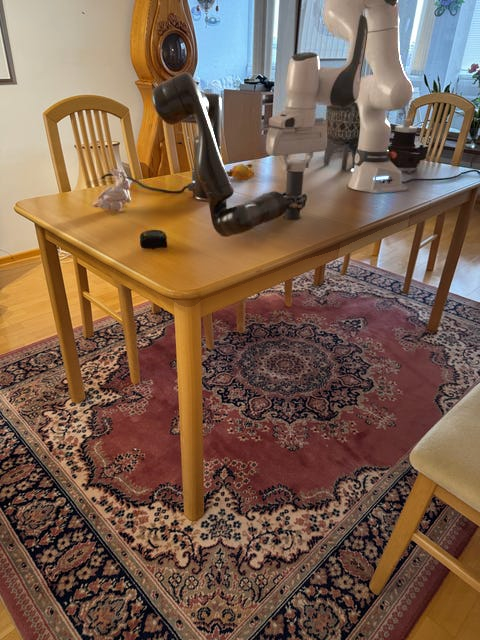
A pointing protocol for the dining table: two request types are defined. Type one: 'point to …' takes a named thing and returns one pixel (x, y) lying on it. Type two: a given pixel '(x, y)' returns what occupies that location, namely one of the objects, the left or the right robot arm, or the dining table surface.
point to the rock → (340, 150)
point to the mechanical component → (407, 148)
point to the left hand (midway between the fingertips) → (297, 195)
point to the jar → (293, 192)
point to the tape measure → (153, 239)
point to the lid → (297, 165)
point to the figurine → (115, 193)
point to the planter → (342, 132)
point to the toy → (242, 172)
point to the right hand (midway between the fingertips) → (295, 169)
